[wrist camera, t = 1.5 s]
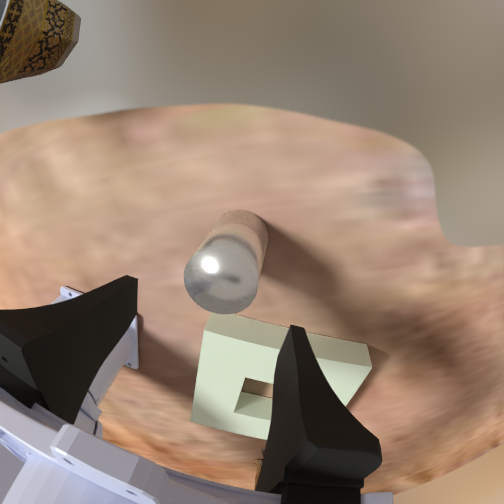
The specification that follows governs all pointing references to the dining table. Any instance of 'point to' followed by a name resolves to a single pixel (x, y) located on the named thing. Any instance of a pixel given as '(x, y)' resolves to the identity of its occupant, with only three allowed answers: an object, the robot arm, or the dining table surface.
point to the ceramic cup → (35, 37)
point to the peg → (228, 264)
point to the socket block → (261, 371)
